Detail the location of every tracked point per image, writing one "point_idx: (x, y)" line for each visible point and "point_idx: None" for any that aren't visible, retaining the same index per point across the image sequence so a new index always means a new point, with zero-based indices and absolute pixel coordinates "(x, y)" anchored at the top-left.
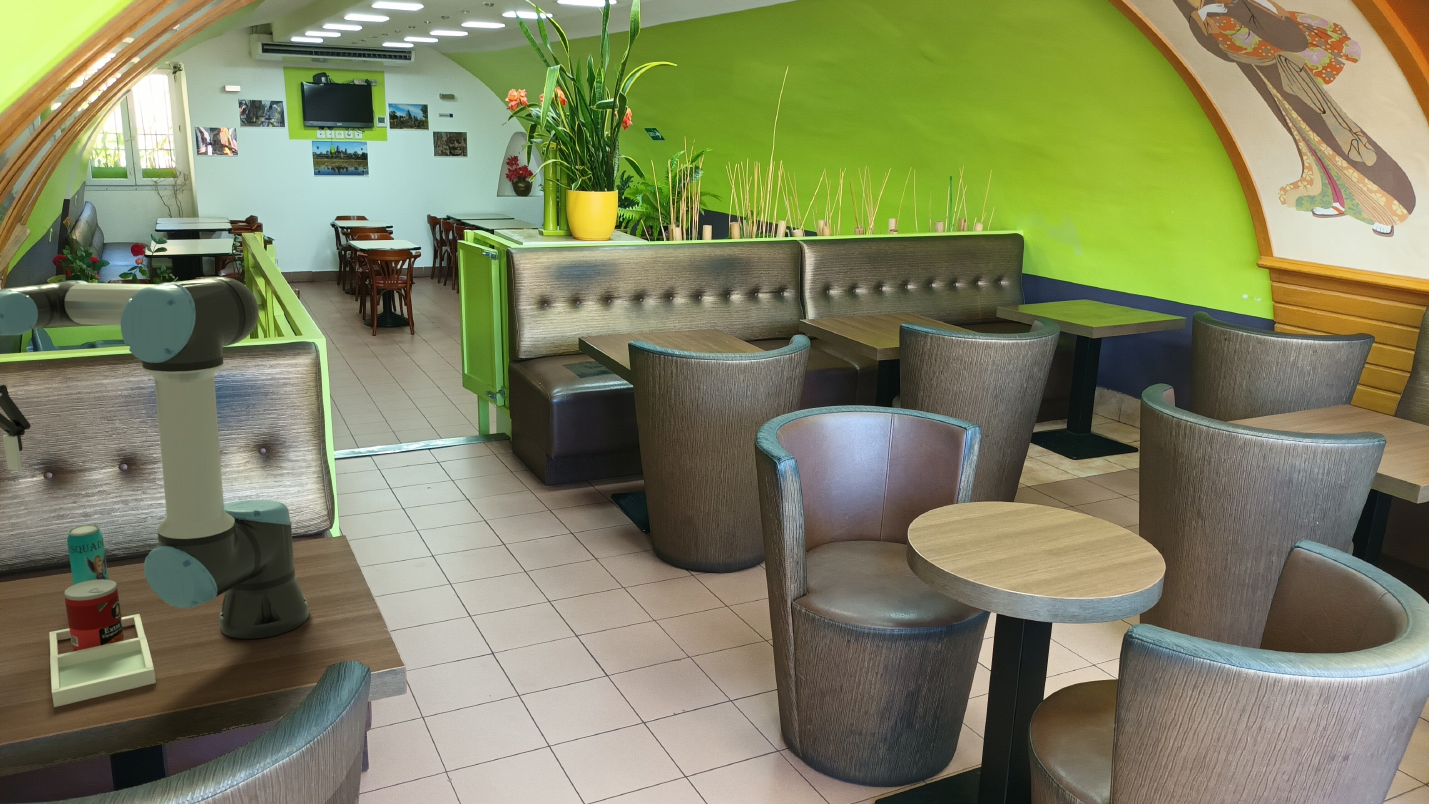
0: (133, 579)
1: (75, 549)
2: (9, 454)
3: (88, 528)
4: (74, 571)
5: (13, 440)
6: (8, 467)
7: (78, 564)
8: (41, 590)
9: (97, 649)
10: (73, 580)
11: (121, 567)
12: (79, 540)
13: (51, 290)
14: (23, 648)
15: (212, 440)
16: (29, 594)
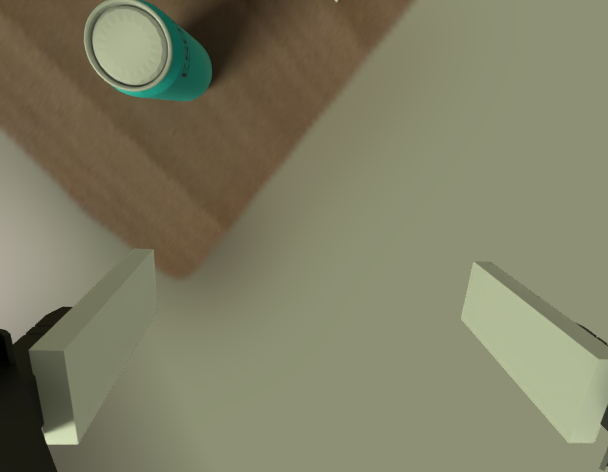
0: (72, 88)
1: (185, 44)
2: (127, 330)
3: (115, 38)
4: (200, 66)
5: (78, 335)
6: (154, 310)
7: (194, 47)
8: (185, 213)
9: None
10: (203, 79)
11: (42, 165)
12: (170, 26)
13: None
14: (375, 23)
15: None
16: (206, 218)
